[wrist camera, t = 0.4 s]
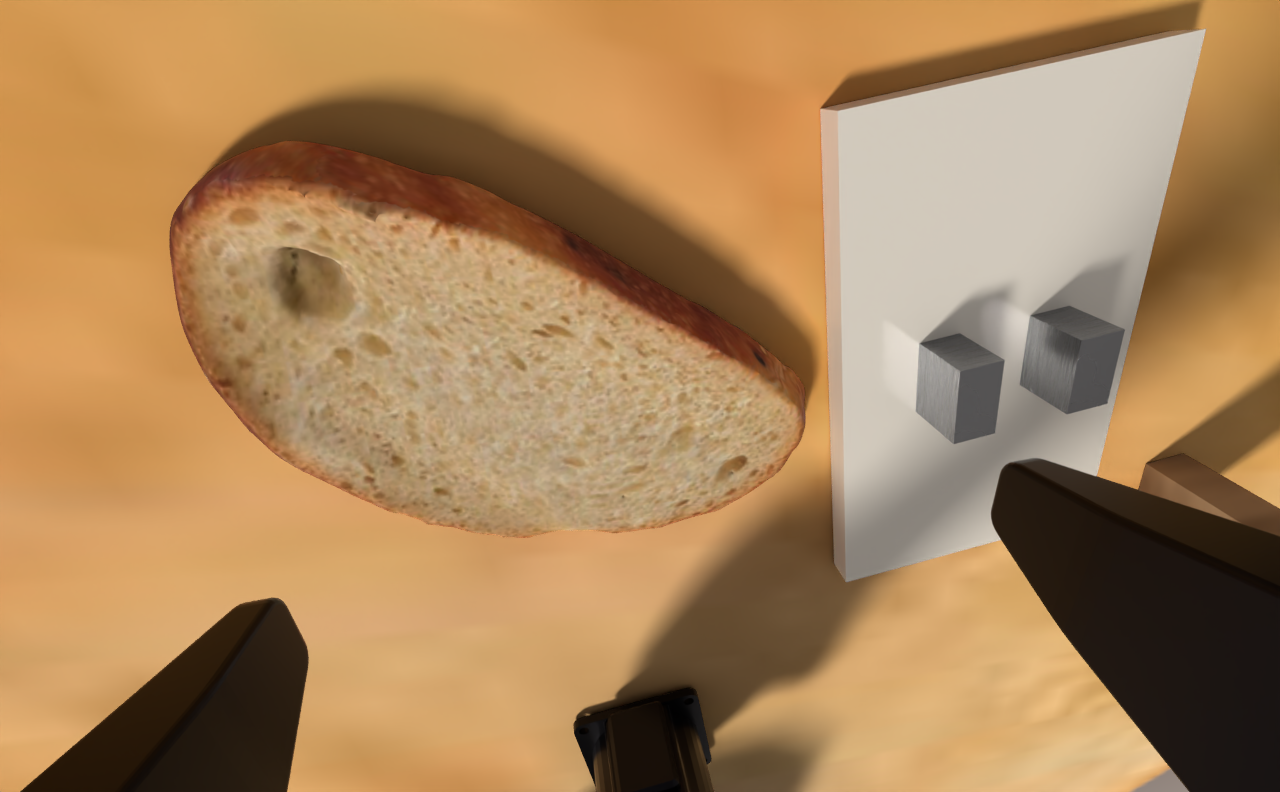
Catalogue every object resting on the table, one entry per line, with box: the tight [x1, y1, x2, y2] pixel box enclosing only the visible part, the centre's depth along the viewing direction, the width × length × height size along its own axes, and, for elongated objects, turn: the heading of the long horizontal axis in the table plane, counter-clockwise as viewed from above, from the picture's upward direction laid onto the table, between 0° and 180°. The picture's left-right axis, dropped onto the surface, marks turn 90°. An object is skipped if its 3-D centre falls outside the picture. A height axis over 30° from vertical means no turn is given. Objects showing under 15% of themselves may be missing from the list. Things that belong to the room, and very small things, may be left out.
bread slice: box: [170, 141, 805, 538], centre depth 20 cm, size 18×18×4 cm
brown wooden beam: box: [1139, 454, 1280, 536], centre depth 27 cm, size 4×2×9 cm, turn 10°
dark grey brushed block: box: [916, 306, 1125, 444], centre depth 22 cm, size 3×6×2 cm, turn 100°
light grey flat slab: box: [820, 29, 1206, 582], centre depth 24 cm, size 20×12×1 cm, turn 10°
